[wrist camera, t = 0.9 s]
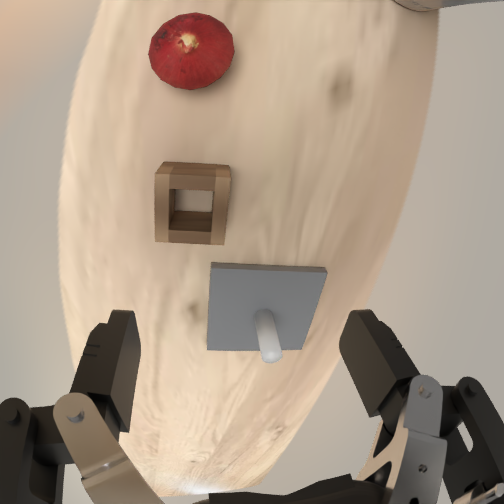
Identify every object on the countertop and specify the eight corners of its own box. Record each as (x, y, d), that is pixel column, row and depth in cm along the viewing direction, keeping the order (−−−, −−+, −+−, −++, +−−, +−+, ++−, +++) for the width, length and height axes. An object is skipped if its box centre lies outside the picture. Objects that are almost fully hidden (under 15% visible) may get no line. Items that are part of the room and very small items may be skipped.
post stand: (211, 262, 29) (211, 309, 23) (324, 267, 31) (348, 310, 25) (207, 344, 35) (207, 390, 29) (299, 343, 37) (313, 386, 31)
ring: (163, 161, 23) (154, 173, 20) (228, 165, 24) (231, 178, 21) (162, 221, 26) (155, 241, 23) (222, 224, 27) (224, 245, 24)
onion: (145, 69, 19) (114, 58, 12) (187, 15, 17) (175, -19, 10) (203, 102, 21) (196, 105, 14) (245, 49, 19) (259, 28, 12)
